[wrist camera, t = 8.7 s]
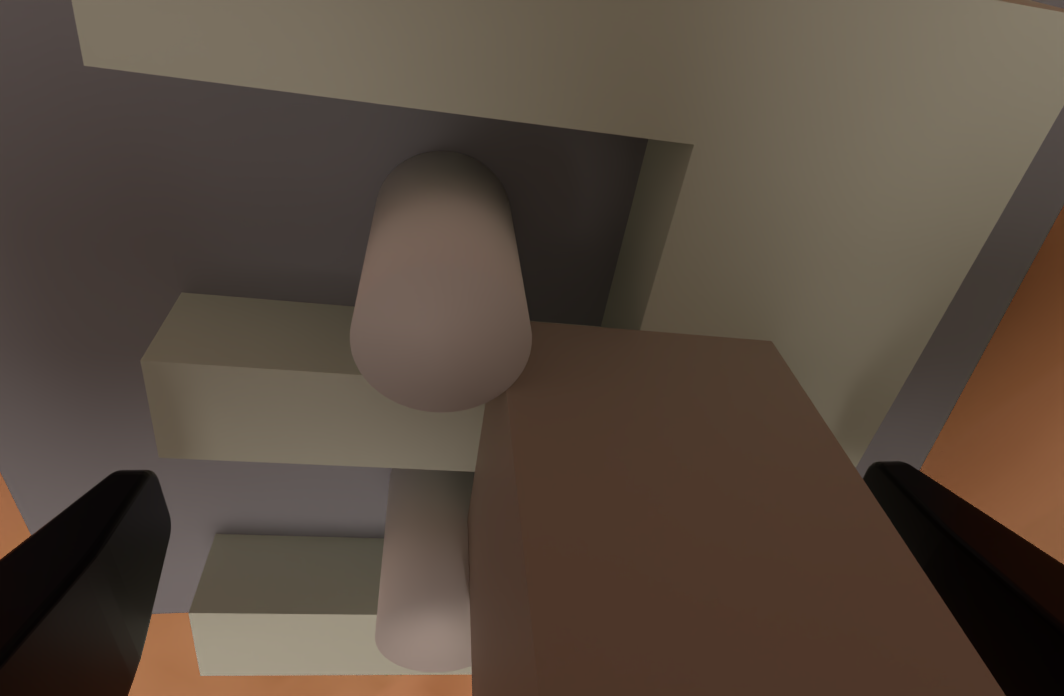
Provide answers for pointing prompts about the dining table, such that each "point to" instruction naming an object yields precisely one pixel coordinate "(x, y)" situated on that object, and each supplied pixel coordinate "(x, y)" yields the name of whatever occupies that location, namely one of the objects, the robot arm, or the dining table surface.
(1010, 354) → the dining table surface
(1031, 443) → the dining table surface
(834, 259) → the two-prong bracket
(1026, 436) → the dining table surface
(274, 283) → the slate board
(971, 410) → the dining table surface
